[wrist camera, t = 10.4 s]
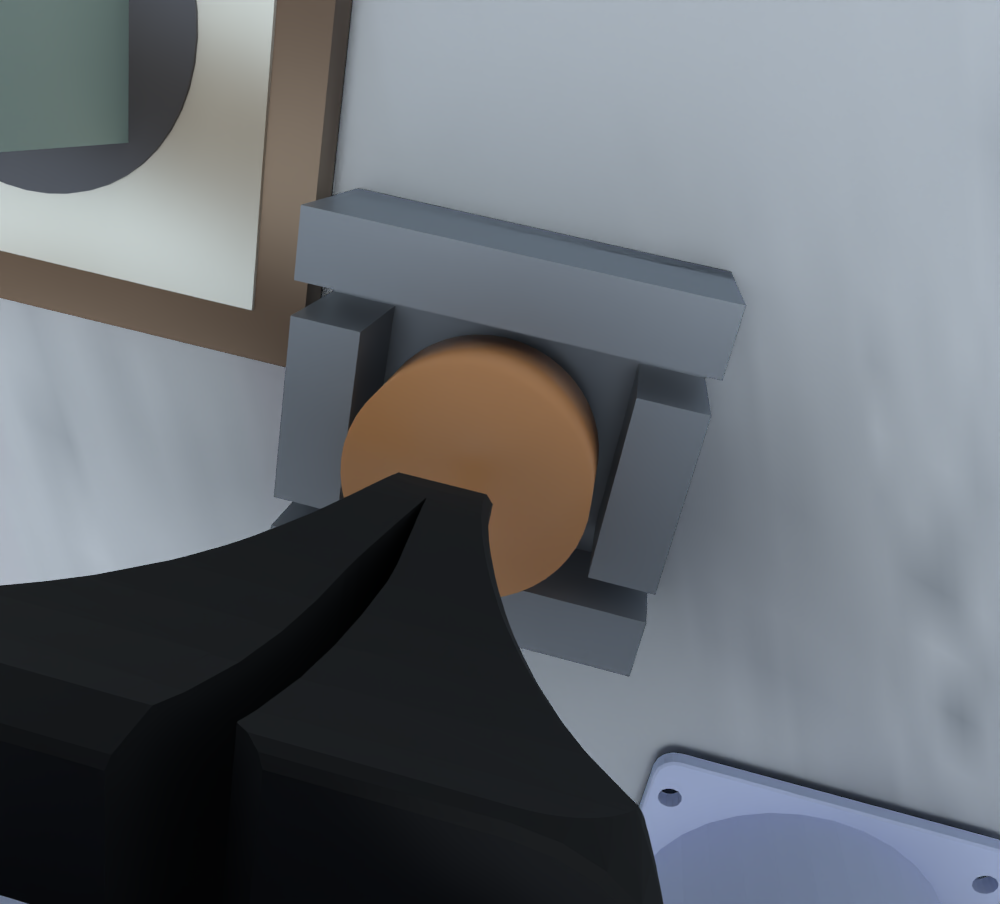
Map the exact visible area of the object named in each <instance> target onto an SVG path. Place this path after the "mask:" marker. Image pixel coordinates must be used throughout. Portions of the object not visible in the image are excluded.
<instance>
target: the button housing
mask: <svg viewBox="0 0 1000 904" xmlns="http://www.w3.org/2000/svg"><path fill="white" fill-rule="evenodd" d="M294 280H296V281H300V282H305V283H309V284H313V285H317V286H322V287H326V288H330V289H333V291H332V292H331V293H329V294H327V295H325V296H324V297H322V298H320V299H319V300H317V301H315V302H313V303H312V304H310V305H308V306H307V307H305V308H303V309H301V310H300V311H298V312H296V313H294V314H293V315H291V317H290V328H289V339H288V350H287V361H286V371H285V382H284V393H283V404H282V415H281V426H280V436H279V447H278V458H277V469H276V480H275V490H274V497H277V498H281V499H285V500H289V501H292V503H291V504H290V505H289V507H288V508H287V509H286V510H285V511H284V512H283V513H282V514H281V515H280V516H279V517H278V519H277V520H276V521H275V522H274V523H273V524H272V525H271V529H273V528H275V527H278V526H280V525H283V524H285V523H288V522H290V521H293V520H295V519H298V518H300V517H303V516H305V515H308V514H310V513H312V512H315V511H317V510H319V509H321V508H323V507H325V506H328V505H330V504H332V503H334V502H336V501H338V500H340V499H343V498H344V496H343V491H342V486H341V474H340V471H341V456H342V451H343V446H344V442H345V439H346V436H347V434H348V431H349V428H350V426H351V425H352V423H353V421H354V419H355V417H356V415H357V414H358V413H359V411H360V410H361V409H362V407H363V406H364V404H365V403H366V402H367V401H368V400H369V399H370V398H371V397H372V396H373V395H374V394H375V393H376V392H377V391H378V390H379V389H380V388H381V387H382V386H383V385H384V384H385V383H386V382H387V381H388V380H389V379H390V378H391V376H392V375H393V374H394V373H395V372H396V371H397V370H398V369H399V368H400V367H401V366H402V365H403V364H404V363H405V362H406V361H407V360H408V359H410V358H411V357H412V356H414V355H415V354H416V353H418V352H419V351H421V350H423V349H425V348H426V347H428V346H430V345H432V344H435V343H437V342H440V341H442V340H445V339H449V338H453V337H458V336H465V335H493V336H499V337H505V338H509V339H512V340H515V341H519V342H522V343H524V344H526V345H529V346H531V347H533V348H535V349H537V350H539V351H540V352H542V353H544V354H545V355H547V356H548V357H550V358H551V359H552V360H554V361H555V362H556V363H557V364H559V365H560V366H561V367H562V368H563V369H564V370H565V371H566V372H567V373H568V374H569V375H570V376H571V377H572V378H573V380H574V381H575V382H576V384H577V385H578V386H579V388H580V389H581V390H582V392H583V394H584V396H585V398H586V399H587V401H588V403H589V405H590V408H591V411H592V413H593V416H594V419H595V423H596V427H597V431H598V441H599V458H598V465H597V471H596V477H595V483H594V489H593V495H592V501H591V507H590V512H589V518H588V522H587V524H586V527H585V530H584V533H583V535H582V537H581V539H580V541H579V543H578V545H577V547H576V548H575V550H574V551H573V552H572V554H571V555H570V557H569V558H568V559H567V560H566V561H565V562H564V563H563V565H562V566H561V567H560V568H559V569H558V570H556V571H555V572H554V573H553V574H551V575H550V576H549V577H548V578H546V579H545V580H543V581H541V582H540V583H538V584H536V585H534V586H533V587H530V588H528V589H525V590H523V591H521V592H518V593H514V594H511V595H507V596H503V597H501V600H502V603H503V607H504V610H505V613H506V616H507V619H508V621H509V624H510V627H511V629H512V632H513V635H514V637H515V639H516V641H517V644H518V646H519V647H520V648H524V649H527V650H531V651H535V652H539V653H543V654H546V655H550V656H554V657H558V658H561V659H565V660H569V661H573V662H576V663H580V664H584V665H588V666H592V667H595V668H599V669H603V670H607V671H610V672H614V673H618V674H622V675H625V676H630V673H631V670H632V667H633V664H634V660H635V657H636V654H637V651H638V648H639V644H640V641H641V638H642V635H643V632H644V629H645V625H646V614H647V593H651V594H656V590H657V587H658V584H659V581H660V578H661V574H662V571H663V568H664V565H665V562H666V559H667V555H668V552H669V549H670V546H671V543H672V539H673V536H674V533H675V530H676V527H677V524H678V520H679V517H680V514H681V511H682V508H683V504H684V501H685V498H686V495H687V492H688V488H689V485H690V482H691V479H692V476H693V473H694V469H695V466H696V463H697V460H698V457H699V453H700V450H701V447H702V444H703V441H704V438H705V434H706V431H707V428H708V425H709V422H710V418H711V411H710V405H709V399H708V394H707V388H706V382H705V377H710V378H714V379H718V380H723V377H724V374H725V371H726V368H727V364H728V361H729V358H730V355H731V352H732V348H733V345H734V342H735V339H736V336H737V333H738V329H739V326H740V323H741V320H742V317H743V313H744V310H745V307H746V305H745V302H744V300H743V298H742V296H741V293H740V291H739V289H738V286H737V284H736V282H735V279H734V277H733V275H732V273H731V272H730V271H725V270H721V269H716V268H712V267H708V266H703V265H699V264H694V263H690V262H685V261H681V260H676V259H672V258H667V257H663V256H658V255H654V254H649V253H645V252H641V251H636V250H632V249H627V248H623V247H618V246H614V245H609V244H605V243H600V242H596V241H591V240H587V239H582V238H578V237H574V236H569V235H565V234H560V233H556V232H551V231H547V230H542V229H538V228H533V227H529V226H524V225H520V224H515V223H511V222H506V221H502V220H498V219H493V218H489V217H484V216H480V215H475V214H471V213H466V212H462V211H457V210H453V209H448V208H444V207H439V206H435V205H431V204H426V203H422V202H417V201H413V200H408V199H404V198H399V197H395V196H390V195H386V194H381V193H377V192H372V191H368V190H364V189H359V188H358V189H354V190H351V191H347V192H344V193H340V194H337V195H333V196H330V197H326V198H323V199H319V200H316V201H312V202H309V203H305V204H302V205H301V209H300V220H299V231H298V242H297V253H296V263H295V274H294Z"/></svg>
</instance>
